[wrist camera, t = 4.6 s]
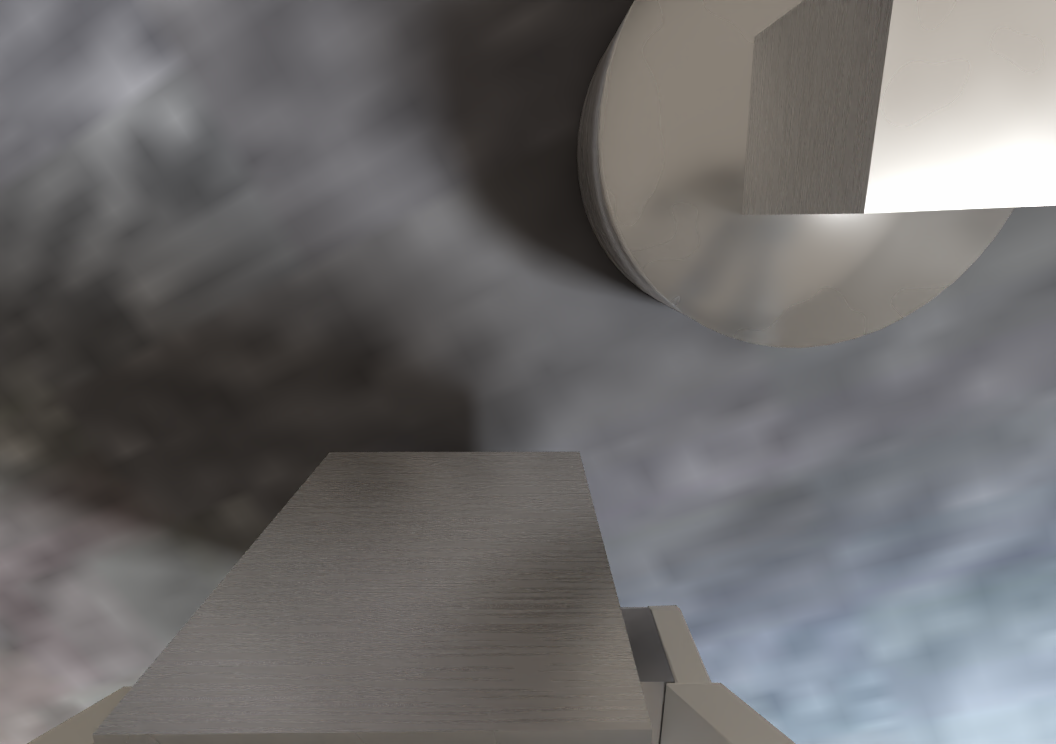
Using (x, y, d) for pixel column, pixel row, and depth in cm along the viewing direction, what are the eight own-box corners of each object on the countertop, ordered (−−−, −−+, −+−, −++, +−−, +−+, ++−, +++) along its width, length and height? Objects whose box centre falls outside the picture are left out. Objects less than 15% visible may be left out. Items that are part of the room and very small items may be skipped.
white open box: (571, 653, 12) (622, 1063, 6) (351, 655, 12) (188, 1071, 6) (579, 451, 10) (652, 729, 5) (330, 452, 10) (91, 735, 5)
